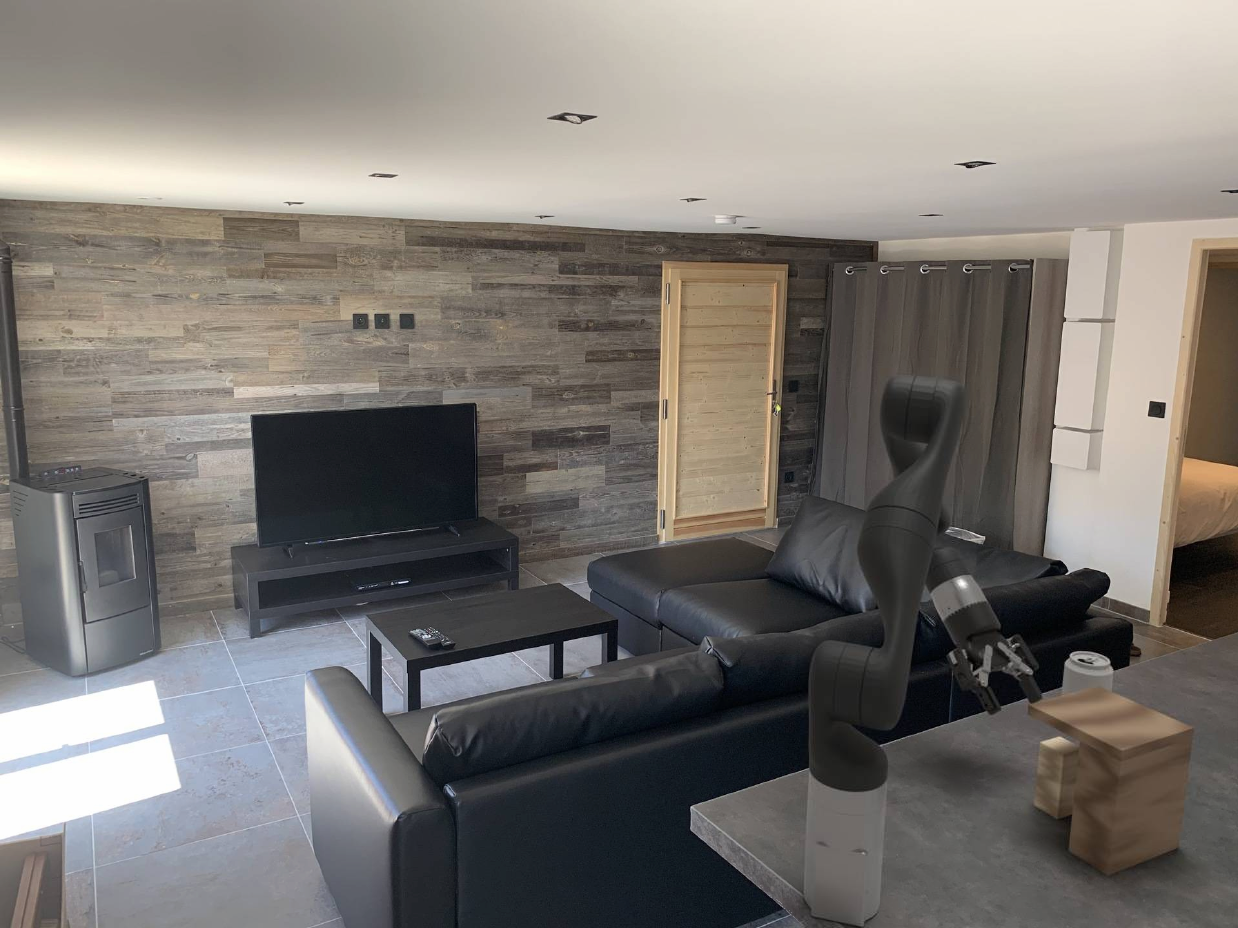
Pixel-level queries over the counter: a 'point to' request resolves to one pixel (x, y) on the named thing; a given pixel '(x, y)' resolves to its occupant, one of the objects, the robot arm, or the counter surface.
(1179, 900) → the counter surface
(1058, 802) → the oak block
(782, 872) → the counter surface
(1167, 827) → the walnut shelf
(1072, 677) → the can
